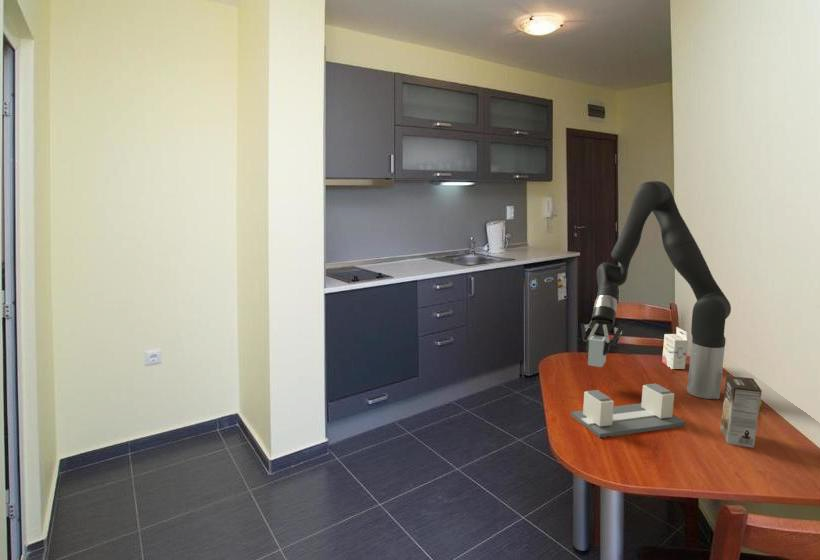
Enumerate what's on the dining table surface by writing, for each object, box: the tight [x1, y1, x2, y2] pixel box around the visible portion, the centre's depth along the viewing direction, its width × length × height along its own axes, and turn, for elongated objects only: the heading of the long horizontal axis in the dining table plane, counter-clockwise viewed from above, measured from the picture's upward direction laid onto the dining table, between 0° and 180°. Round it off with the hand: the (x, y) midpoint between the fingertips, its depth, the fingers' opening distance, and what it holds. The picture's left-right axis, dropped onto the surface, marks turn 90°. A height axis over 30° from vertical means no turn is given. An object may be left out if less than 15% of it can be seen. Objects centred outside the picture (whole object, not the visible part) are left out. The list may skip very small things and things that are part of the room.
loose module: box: [587, 335, 607, 368], centre depth 164 cm, size 4×7×9 cm, turn 149°
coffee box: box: [720, 375, 763, 449], centre depth 130 cm, size 9×6×16 cm
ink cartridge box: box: [661, 326, 688, 370], centre depth 185 cm, size 9×5×15 cm, turn 179°
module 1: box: [582, 389, 615, 426], centre depth 138 cm, size 4×8×8 cm, turn 14°
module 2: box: [640, 382, 675, 419], centre depth 143 cm, size 4×8×8 cm, turn 14°
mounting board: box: [570, 402, 687, 439], centre depth 141 cm, size 28×14×2 cm, turn 104°
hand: (596, 352), depth 163 cm, fingers closed on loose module, 4 cm apart
